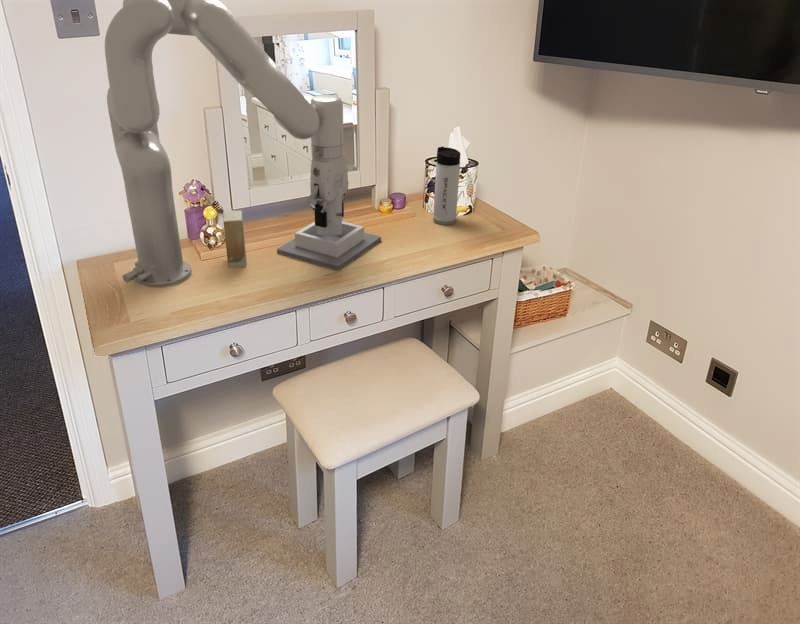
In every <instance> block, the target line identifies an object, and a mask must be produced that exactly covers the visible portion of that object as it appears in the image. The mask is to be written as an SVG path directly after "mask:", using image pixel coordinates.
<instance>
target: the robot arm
mask: <svg viewBox="0 0 800 624" xmlns="http://www.w3.org/2000/svg"><path fill="white" fill-rule="evenodd" d="M168 34H170V35H176V36H177V35H178V36H188V37H189V36H191V37H196V39H197V40H198V41H199V42H200V43H201V44H202V45H203V46H204V47H205V48H206V49H207V51H209V52H210V54H211V55H212V56H213V57H214V58H215V59H216V60H217V61H218V62H219V63H220V64H221V65H222V66H223V67H224V69H225V70H226V71H227V72H228V73H229V74H230V76H231V77H232V78H234V79H235V81H236V82H237V83H238V84H239V85H240V86H242V88H243V89H244V90H246V91H247V92H248V93H250V95H252V96H253V97H255V99H257V100H258V101H259V102H260V103H261V104H262V105H263V106H264V107H265V108H266V109H267V110H268V111H269V112H270V113H271V114H272V115H273V117H274V120H275V121H276V123H277V124H278V125H279V126H280V127H281V128H283V130H285V131H286V132H287V133H288V134H289V135H291V137H293V138H295V139H298V140H309V139H310V142H311V143H310V145H311V150H310V151H311V162H310V177H309V179H310V181H309V182H310V184H309V186H310V195H309V196H308V199H307V203H308V204H309V205H310V208H311V209H312V211H314V222H315V225H316V226H320V227H323V228H326V227H327V212H325V208H326V204H327V202H330V201H332V200H334V199H336V198H337V197H338V190H337V189H339V188H340V187H342V218H344V217H345V210H344V209H345V204H344V203H345V200H346V197H345V195H346V193H348V191H349V175H348V165H347V159H346V154H345V149H344V148H345V147H344V103H343V100H342V99H341V98H340V97H339V96H338V95H337V96H336V95H334V94H319V95H315V96H304V95H303V93H301V91H299V89H298V88H297V87H296V86H295V85H294V83H292V81H291V80H290V79H289V78H288V76H286V75H285V73H284V72H283V71H282V70H281V69H280V68H279V67H278V65H277V64H276V63H275V61H274V60H273V59H272V58H271V56H269V55H268V53H267V52H266V51H265V50H264V49H263V48H262V46H260V44H259V43H258V42H257V41H256V40H255V39H254V38H253V36H252V35H251V34H250V32H248V31H247V29H246V28H245V27H244V26H243V25H242V23H241V22H240V21H239V20H238V19H237V17H236V16H235V15H234V14H233V13H232V12H231V11H230V9H229V8H228V7H227V6H226V5H225V4H224V3H223V2H221V1H220V0H123V1H122V7H121V8H120V9H119V10H118V11H116V14H115V15H114V16H113V18H112V19H111V20H110V23H109V25H108V27H107V29H106V33H105V38H104V39H105V40H104V53H105V63H106V72H107V79H108V85H109V88H108V89H107V93H106V103H107V104H106V105H107V110H108V116H109V120H110V121H109V122H110V128H111V133H112V137H113V143H114V148H115V152H116V157H117V159H118V162H119V165H120V169H121V174H122V177H123V183H124V190H125V195H126V202H127V208H128V213H129V218H130V223H131V228H132V235H133V240H134V245H135V249H136V250H135V251H136V255H137V261H134V265H135V266H134V268H133V269H132V270H131V271H128V272H126V273H124V274H122V277H121V278H122V280H123V281H124V282H125V283H130V282H132V281H133V280H134V281H135V282H136V283H137V284H139V285H141V286H144V287H149V288H165V287H171V286H174V285H177V284H180V283H182V282H184V281H186V280H187V279H189V277H190V276H191V275H192V268H191V265H190V264H189V263H188V262H187V261H184V260H183V254H182V247H181V246H182V245H181V239H180V233H179V226H178V225H179V224H178V220H177V219H178V217H177V213H176V212H177V211H176V205H175V199H174V198H175V197H174V191H173V177H172V169H171V168H172V166H171V163H170V159H169V156H168V154H167V152H166V149H165V148H164V146H163V145H162V144H161V140H160V134H159V133H160V132H159V128H158V127H159V126H158V122H159V118H160V111H161V110H160V104H159V101H158V96H157V88H156V85H155V77H154V67H153V52H154V51H153V50H154V47H155V46H156V45H157V43H158V42H159V40H161V39H162V38H164V37H165V36H167V35H168ZM318 195H319V196H321V198H322V199H320V198H318ZM319 201H322V206H320V205H319Z"/></svg>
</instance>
